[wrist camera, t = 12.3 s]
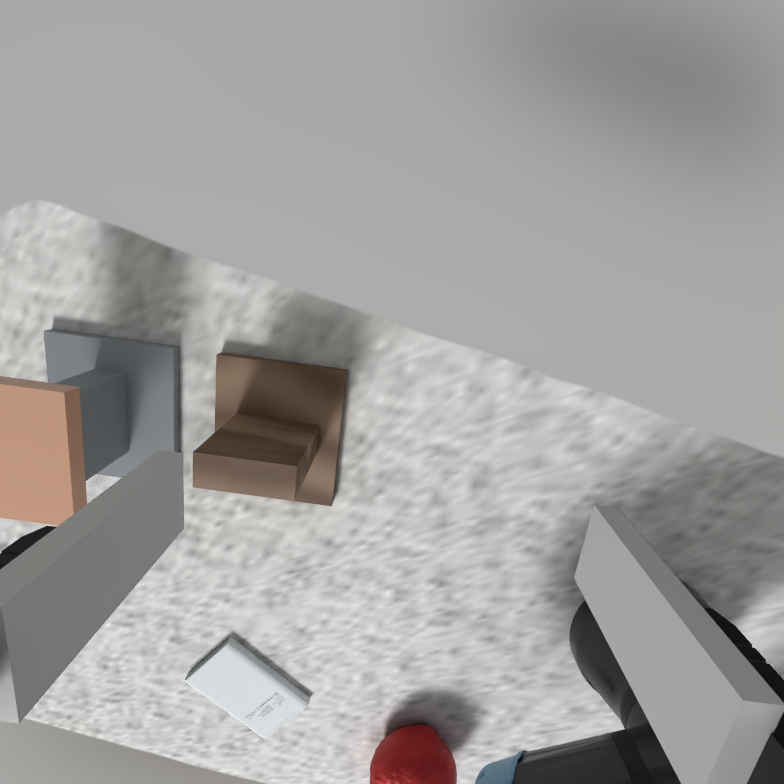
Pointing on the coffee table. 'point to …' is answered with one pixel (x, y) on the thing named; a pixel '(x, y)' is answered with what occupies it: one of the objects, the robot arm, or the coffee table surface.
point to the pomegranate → (413, 758)
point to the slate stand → (118, 397)
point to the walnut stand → (273, 430)
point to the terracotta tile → (40, 451)
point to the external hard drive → (247, 688)
